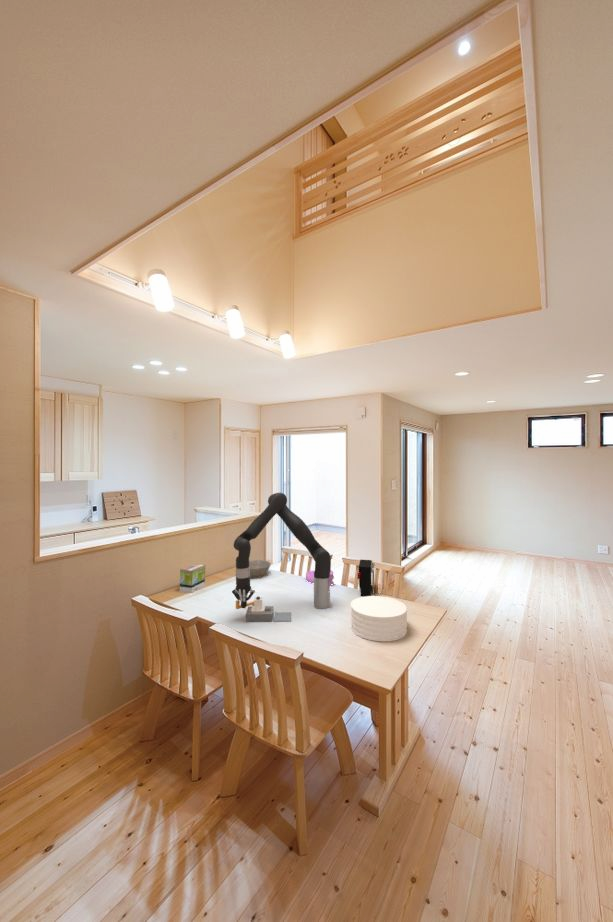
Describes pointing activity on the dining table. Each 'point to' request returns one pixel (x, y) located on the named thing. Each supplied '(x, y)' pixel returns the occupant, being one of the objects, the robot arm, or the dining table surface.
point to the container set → (311, 577)
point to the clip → (240, 605)
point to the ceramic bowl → (258, 568)
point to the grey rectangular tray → (260, 615)
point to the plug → (258, 606)
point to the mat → (282, 617)
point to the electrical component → (366, 577)
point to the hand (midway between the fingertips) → (243, 607)
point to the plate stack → (378, 618)
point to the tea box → (192, 578)
